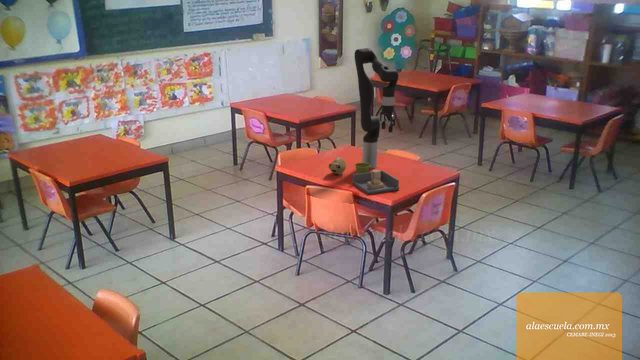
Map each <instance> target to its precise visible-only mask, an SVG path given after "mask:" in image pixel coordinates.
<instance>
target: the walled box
mask: <svg viewBox="0 0 640 360" xmlns="http://www.w3.org/2000/svg"><path fill="white" fill-rule="evenodd" d="M379 171H380V172H381V181H380V184H378V185H373V184H371V171H368V172H367V173H360V174H357V173H353V174H352V185H353V186H355V187H356V188H358V189H359V190H361V191H362V192H364V193H365V194H367V195H368V196H369V195H377V194H383V193H389V192H390V191H391V192H396V191H400V186H399V184H400V183H399V182H400V181H399V180H400V179H398V178H396V177H394V176H393V175H391V174H389V173H388V172H386V171H384V170H379Z"/></svg>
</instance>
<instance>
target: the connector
mask: <svg viewBox="0 0 640 360" xmlns="http://www.w3.org/2000/svg"><path fill="white" fill-rule="evenodd" d="M380 171H381V170H379V169H373V170H371V171H370V172H371V184H373V185H378V184H380V181H381V172H380Z"/></svg>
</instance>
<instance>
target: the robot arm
mask: <svg viewBox="0 0 640 360" xmlns="http://www.w3.org/2000/svg"><path fill="white" fill-rule="evenodd" d="M354 63H355V68H356V73H357V82H358V92H359V94H358V95H359V102H360V103H359V104H360V126H361V129H362V131H364V132H366V133H365V135H364V136H363V138H362V154H361V155H362V156H361V157H362V159H361V160H362V161H361V163H368V164H370V167H369V170H370V169H375V168H377V167H378V163H377V162H378V141H379V137H380V129H381V130H385V129H386V125H388V133H392V132H393V127H395V126H396V115H393V113H394V112H395V101H396V100H395V96H396V95H395V93H396V88H397V87H396V86H397V84H398V80H399V75H400V74H399V72H398V70H397V69H394V68H392V69H391V68H390V69H389V67H388V65H386V64H385V63H383V62H382V61H381V60H380V59H379V57H378V56H377V53H375V51H374V50H372V49H371V48H369V47H366V48H357V49H356V50H355V51H354ZM366 64H371V69H372V70H373V72H374V73H375V74H377V75H378V77H379V79H380V81H381V82H383V83H388V84H387V85H384V86H383V87H382V96H381V109H380V112H379V117H378V116H377V115H371V106H372V103H373V102H374V97H375V91H374V89H375V88H374V83H373V82H372V80H371V78H370V77H369V76H368V74H367V73H366V71H365V68H364V65H366ZM386 122H387V124H386ZM380 126H381V127H380Z"/></svg>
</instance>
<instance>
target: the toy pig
mask: <svg viewBox="0 0 640 360" xmlns="http://www.w3.org/2000/svg"><path fill="white" fill-rule="evenodd" d="M346 168H347V164H346V161H345V160H344V158H343V157H339V156H337V157H336V158H335V159H334V160H333V161H332V162H331V163H329V164H328V169H329V170H330V171H331V174H332V175H334V174H335V175H339V176H341V175H342V174H343V173H344V172H345V170H346Z"/></svg>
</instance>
